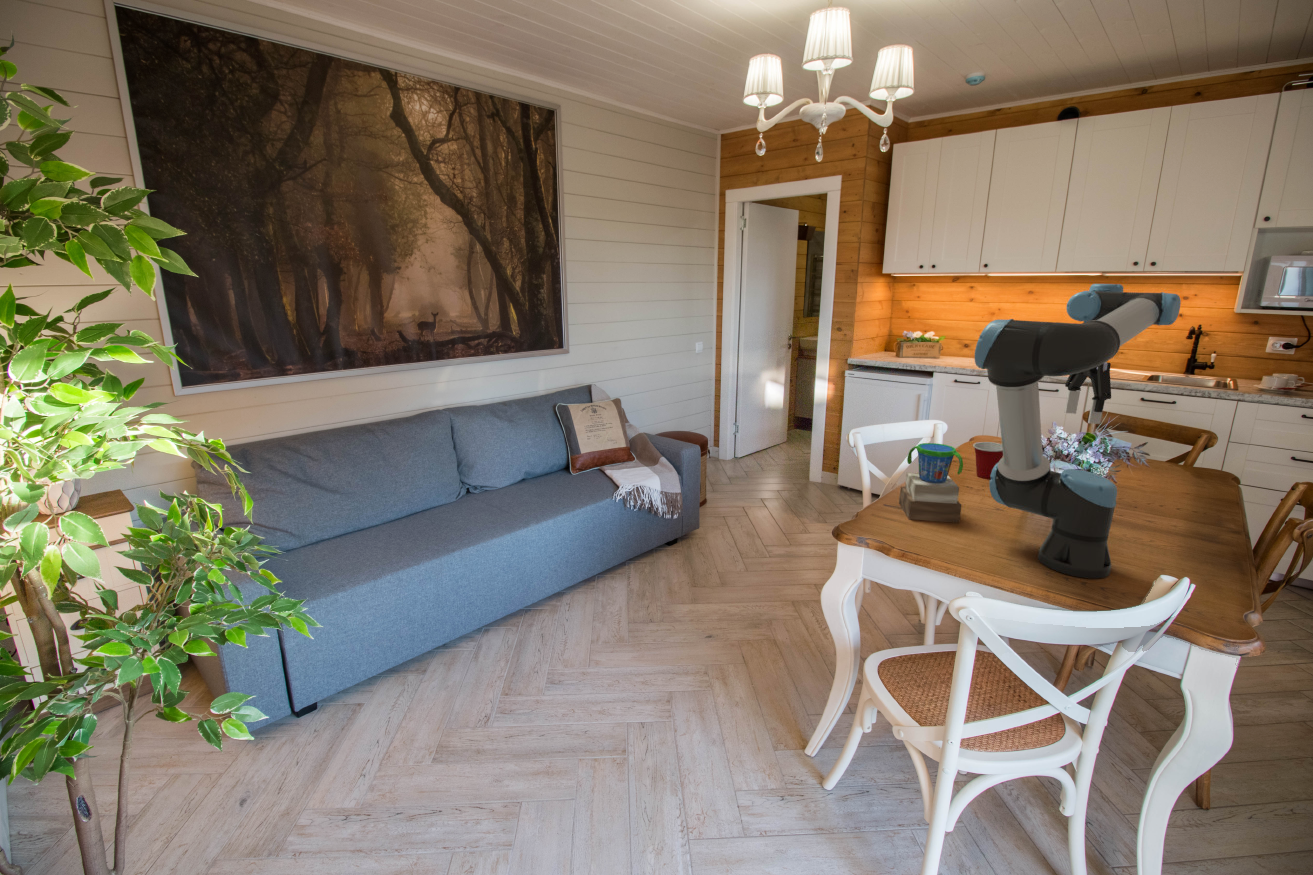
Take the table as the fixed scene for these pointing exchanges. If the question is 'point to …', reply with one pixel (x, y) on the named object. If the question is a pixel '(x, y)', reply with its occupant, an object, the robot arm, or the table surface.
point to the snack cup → (935, 461)
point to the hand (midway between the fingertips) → (1081, 418)
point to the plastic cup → (987, 457)
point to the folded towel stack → (930, 499)
